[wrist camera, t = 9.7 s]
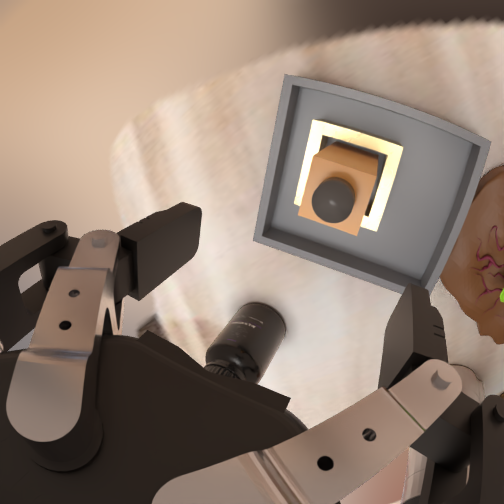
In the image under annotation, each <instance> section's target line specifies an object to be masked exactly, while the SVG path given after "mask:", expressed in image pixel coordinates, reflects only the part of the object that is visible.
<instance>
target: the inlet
mask: <svg viewBox="0 0 504 504" xmlns="http://www.w3.org/2000/svg"><path fill="white" fill-rule="evenodd" d="M328 136H329V137H333V138H336V139H340V140H343V141H346V142H350V143H353V144H356V145H359V146H363V147H366V148H369V149H372V150H375V151H378V152H381V153H384V154H386V156H385V160H384V163H383V167H382V170H381V174H380V177H379V180H378V184H377V187H376V190H375V193H374V197H373V200H372V203H371V205H369V204H368V205H367V208H366V211H365V214H364V217H363V220H362V223H361V226H362V227H365V228H367V229H370V230H373V231H377V229H378V226H379V223H380V220H381V217H382V214H383V211H384V208H385V205H386V202H387V199H388V196H389V193H390V190H391V187H392V184H393V180H394V177H395V174H396V171H397V167H398V164H399V160H400V157H401V153H402V150H403V146H402V144H401V143H399V142H396V141H393V140H390V139H387V138H384V137H381V136H378V135H375V134H372V133H369V132H366V131H363V130H359V129H356V128H353V127H349V126H346V125H342V124H339V123H335V122H331V121H328V120H324V119H314V120H313V121H312V126H311V131H310V135H309V140H308V144H307V149H306V153H305V158H304V162H303V167H302V171H301V175H300V180H299V184H298V188H297V193H296V197H295V201H294V204H296V205H299V206H300V204H301V200H302V197H303V193H304V189H305V185H306V181H307V177H308V173H309V169H310V165H311V161H312V157H313V155H315V154H316V153H318V152H319V151H321V150H323V149H324V148H326V144H327V140H328Z"/></svg>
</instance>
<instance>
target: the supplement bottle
mask: <svg viewBox="0 0 504 504" xmlns="http://www.w3.org/2000/svg"><path fill="white" fill-rule="evenodd" d="M284 335H285V326H284V323H283V321H282V319H281V318H280V316H279V315H278V314H277V313H276V312H275V311H274V310H272V309H271V308H269V307H267V306H265V305H261V304H248V305H245V306H243V307H242V308H240V309H239V310H238V312H237V313H236V314H235V315H234V316H233V318H232V319H231V320H230V321H229V323H228V324H227V325H226V327H225V328H224V329H223V330H222V332H221V333H220V334H219V335H218V337H217V338H216V339H215V340H214V342H213V343H212V344H211V345H210V347H209V348H208V350H207V352H206V366H205V367H204V369H206V370H207V371H209V372H211V373H215V374H219V375H223V376H227V377H232V378H236V379H240V380H245V381H250V382H253V383H256V384H258V383H259V382H260V380H261V378H262V377H263V375H264V373H265V371H266V370H267V368H268V366H269V364H270V362H271V361H272V359H273V357H274V355H275V353H276V352H277V350H278V348H279V346H280V344H281V342H282V340H283V338H284Z"/></svg>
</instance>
